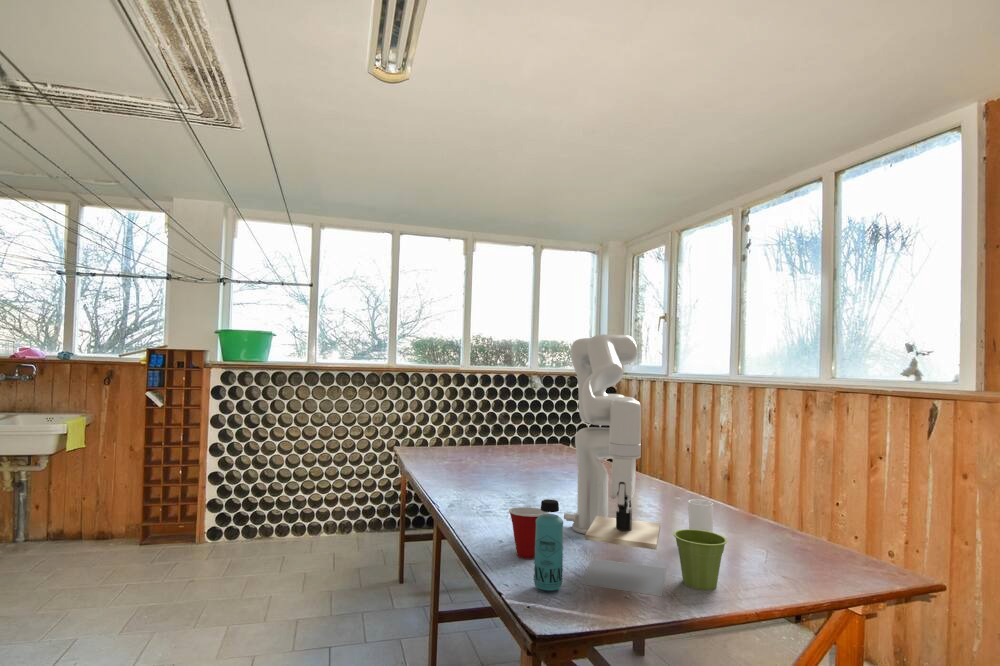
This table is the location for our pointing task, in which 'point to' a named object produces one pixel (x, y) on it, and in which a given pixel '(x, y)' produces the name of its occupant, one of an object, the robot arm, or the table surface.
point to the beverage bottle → (548, 548)
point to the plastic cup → (525, 530)
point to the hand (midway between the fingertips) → (624, 525)
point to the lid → (624, 532)
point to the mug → (700, 515)
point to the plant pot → (700, 557)
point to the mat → (625, 577)
